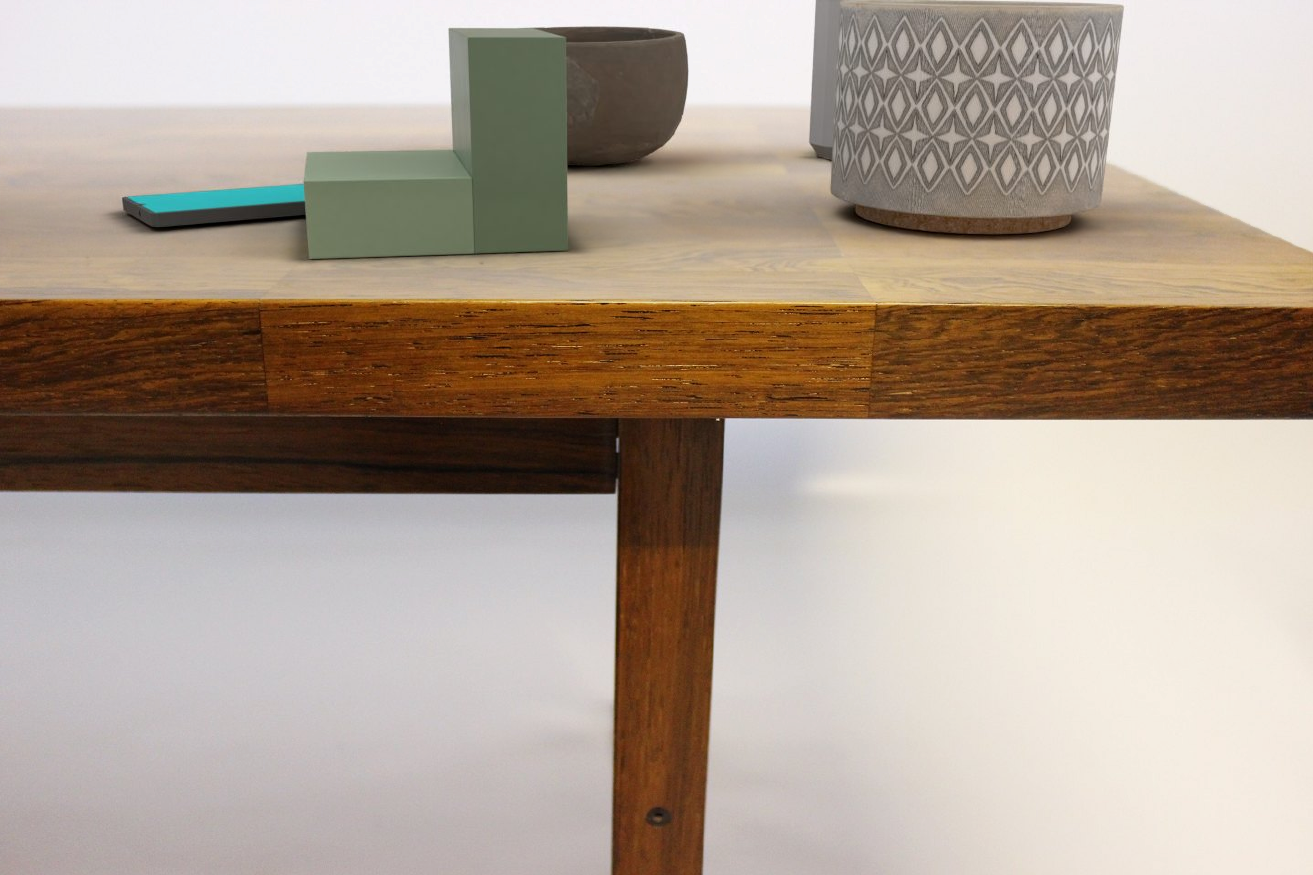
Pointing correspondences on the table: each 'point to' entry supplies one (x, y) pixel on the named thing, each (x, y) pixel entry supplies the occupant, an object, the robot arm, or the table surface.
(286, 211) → the smartphone
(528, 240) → the sage green l-block
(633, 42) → the bowl
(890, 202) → the planter
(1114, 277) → the table surface
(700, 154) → the table surface
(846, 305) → the table surface
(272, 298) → the table surface
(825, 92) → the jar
